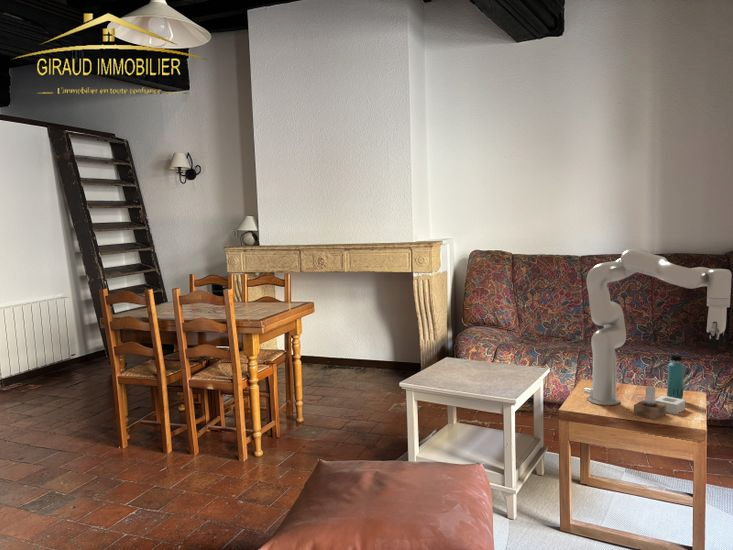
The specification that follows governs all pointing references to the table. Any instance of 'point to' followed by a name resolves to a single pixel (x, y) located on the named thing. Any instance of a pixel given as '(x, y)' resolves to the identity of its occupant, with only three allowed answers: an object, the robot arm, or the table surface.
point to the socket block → (650, 410)
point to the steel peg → (650, 397)
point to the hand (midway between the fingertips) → (716, 347)
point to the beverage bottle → (675, 378)
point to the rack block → (671, 404)
